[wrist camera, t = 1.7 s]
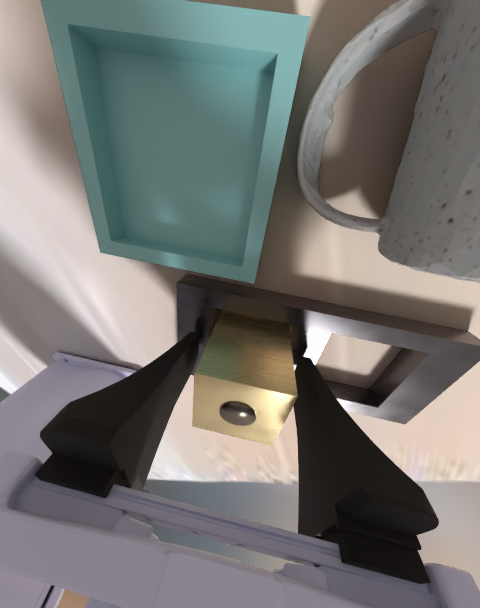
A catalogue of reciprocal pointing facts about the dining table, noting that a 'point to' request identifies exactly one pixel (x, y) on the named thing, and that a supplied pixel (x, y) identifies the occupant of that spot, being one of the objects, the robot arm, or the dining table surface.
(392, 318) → the grey flat frame
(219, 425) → the block
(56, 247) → the dining table surface
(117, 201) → the tray
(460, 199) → the ceramic mug
